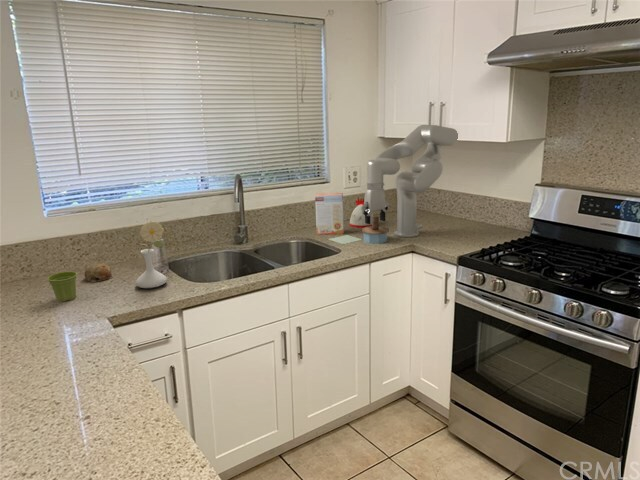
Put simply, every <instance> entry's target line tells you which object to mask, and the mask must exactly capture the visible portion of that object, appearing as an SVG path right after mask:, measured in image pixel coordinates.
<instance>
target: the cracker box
mask: <svg viewBox="0 0 640 480" xmlns="http://www.w3.org/2000/svg"><path fill="white" fill-rule="evenodd" d="M314 199H315V200H314V203H315V224H316V225H315V226H316V230H315V231H316V235H318V236H319V235H344V233H345V221H344V220H345V219H344V218H345V217H344V216H345V215H344V194H343V192H342V193H341V192H337V193H335V192H332V193H328V192H327V193H325V192H324V193H316V194H315V196H314Z"/></svg>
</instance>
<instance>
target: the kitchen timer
mask: <svg viewBox="0 0 640 480" xmlns="http://www.w3.org/2000/svg"><path fill="white" fill-rule="evenodd" d="M355 204H356V207H355V208H354V209H353V211H352V213H351V215H350V219H349V226H350V227H352V228H356V229H357V228H358V229H359V228H360V229H363V228H365V227H370V226H372V217H375V216H374V214H373V211H371V213H370V215H369V216H370V224H366V223H365V215H364V214H363V213H362V210H361V207H362V206H363V205H364V198H359V197H358V198H357V199H355ZM365 211H366V210H365ZM367 213H368V212H367Z"/></svg>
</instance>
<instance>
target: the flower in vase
mask: <svg viewBox="0 0 640 480" xmlns="http://www.w3.org/2000/svg"><path fill="white" fill-rule="evenodd" d="M164 231H165V229H164V228H163V226H162V224H161V223H160V222H156V221H152V220H151V221H148V222H146V223H144V224H143V225H142V227H141V228H140V231H139V235H140V237H141V238H142V240H143V241H146V242H150V243H151V245H150V246H149V245H147V244H143V243H141V242H139V244H140V245H142V246H143V245H144V246H146V247H149V248H145V249H141V250H140V253H141V254H142V256H143V259H144V261H145V266H146V267H145V271H144V272H143V273H142V274H141V275H139V276H138V278H137V279H136V280H135V285H136V286H137V287H138V288H142V289H153V288H158V287H160V286H162V285H164V284H166V282H167V281H168V278H167V276H166V275H164V274H163V273H161V272H159V271H158V270H156V269H155V268H154V266H153V255H154V252H155V249H153V248H152V246H154V247H155V248H161V247H163V246H165V244H164V242H162V241H161V240H160V239H162V236H163V235H164Z"/></svg>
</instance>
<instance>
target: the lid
mask: <svg viewBox="0 0 640 480" xmlns="http://www.w3.org/2000/svg"><path fill="white" fill-rule="evenodd" d="M389 232H390V229H389V228H388V227H386V226H381V225H380V216H374V217H372V226H370V227H365V228H361V233H366V234H385V233H387V234H388V233H389Z"/></svg>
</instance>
